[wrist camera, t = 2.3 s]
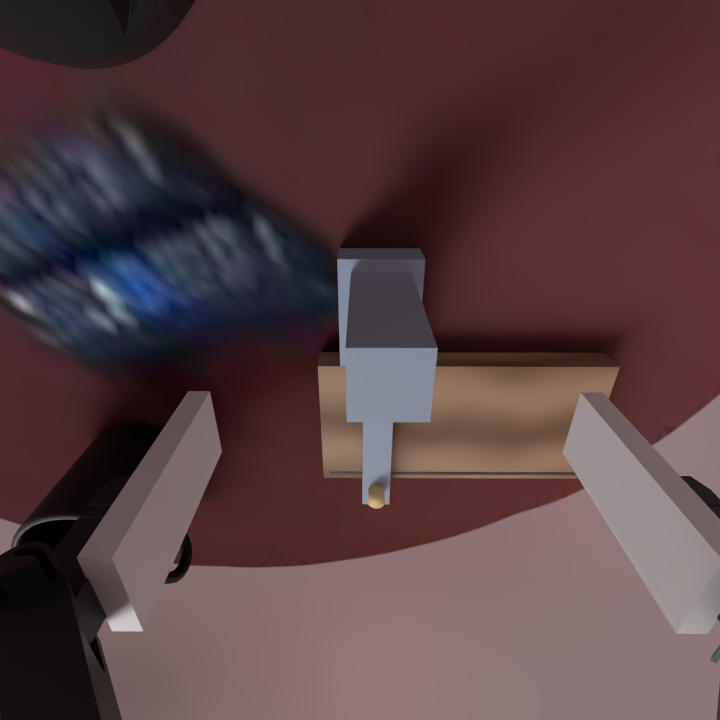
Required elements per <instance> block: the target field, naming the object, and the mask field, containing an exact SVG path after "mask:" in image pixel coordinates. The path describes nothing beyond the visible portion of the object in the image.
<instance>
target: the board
mask: <svg viewBox="0 0 720 720" xmlns="http://www.w3.org/2000/svg"><path fill="white" fill-rule="evenodd" d="M619 368H620V367H619V366H618V365H617V364H616V363H615V362H614V361H613V360H612V359H611V358H610V357H608V356H607V355H606V354H605V353H457V352H437V361H436V371H435V380H434V390H433V400H432V409H431V419H430V422H393V433H392V454H391V474H390V478H578V477H577V475H576V473H575V472H574V470H573V469H572V467H571V465H570V464H569V462H568V461H567V459H566V457H565V456H564V454H563V450H564V446H565V443H566V440H567V436H568V433H569V430H570V426H571V423H572V419H573V416H574V413H575V409H576V406H577V403H578V399H579V396H580V393H581V392H602V393H603V394H604V395H605V396H606V397H607V398H608V399H609V397H610V394H611V391H612V388H613V385H614V382H615V380H616V377H617V374H618V371H619ZM318 378H319V396H320V414H321V433H322V451H323V470H324V478H362V477H363V422H347V414H346V366H340V352H320V357H319V363H318Z"/></svg>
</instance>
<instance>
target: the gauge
mask: <svg viewBox="0 0 720 720" xmlns="http://www.w3.org/2000/svg"><path fill="white" fill-rule="evenodd" d="M337 261H338V301H339V342H340V366H346V414H347V422H363V477H362V504H369V506H370V507H372V508H381V507H383V506H384V504H389V494H390V474H391V454H392V433H393V422H430V419H431V409H432V400H433V390H434V380H435V371H436V361H437V351H438V347H437V344H436V341H435V339H434V336H433V333H432V330H431V327H430V324H429V321H428V318H427V316H426V313H425V310H424V307H423V304H422V298H423V285H424V272H425V257H424V255H423V253H422V251H421V249H420V248H339V253H338V259H337Z"/></svg>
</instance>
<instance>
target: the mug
mask: <svg viewBox="0 0 720 720" xmlns="http://www.w3.org/2000/svg"><path fill="white" fill-rule="evenodd" d="M162 430H163V429H162V428H158V427H154V426H150V425H143V424H128V425H122V426H118V427H114V428H112V429H110V430H107V431H105V432H103V433H102V434H100V435H99V436H98V437H97V438H96V439H95V440H94V441H93V442H92V443H91V444H90V446H89V447H88V448H87V449H86V450H85V451H84V453H83V454H82V455H81V456H80V457H79V458H78V460H77V461H76V462H75V463H74V464H73V466H72V467H71V468H70V469H69V470H68V471H67V473H66V474H65V475H64V476H63V477H62V478H61V480H60V481H59V482H58V483H57V484H56V485H55V487H54V488H53V489H52V490H51V491H50V492H49V494H48V495H47V496H46V497H45V498H44V499H43V501H42V502H41V503H40V504H39V505H38V507H37V508H36V509H35V510H34V511H33V512H32V514H31V515H30V516H29V517H28V518H27V519H26V521H25V522H24V523H23V524H22V525H21V526H20V528H19V529H18V530H17V532H16V534H15V536H14V538H13V541H12V545H11V549H12V548H14V547H17V546H20V545H23V544H26V543H32V542H42V543H45V544H49V546H50V547H51V548H52V550H54V549H55V548H56V546H57V545H58V544H59V542H60V541H61V540H62V538H63V537H64V536H65V534H66V533H67V531H68V530H69V529H70V527H71V526H72V525H73V523H74V522H75V521H76V519H79V515H80V514H81V513H82V511H83V510H84V508H85V507H86V506H88V503H89V502H90V500H91V499H92V498H93V496H94V495H95V494H96V492H97V491H98V490H99V488H100V487H102V486H103V485H104V484H106V483H107V482H108V481H109V480H111V479H112V478H113V477H114V476H116V475H132V474H133V473H134V471H135V470H136V468H137V467H138V465H139V464H140V462H141V461H142V459H143V458H144V456H145V455H146V453H147V452H148V451H149V449H150V448H151V446H152V445H153V443H154V442H155V440H156V439H157V437H158V436H159V434H160V433H161V431H162ZM180 549H181V558H180V562H179V564H178V566H177V568H176V569H175V570H174V571H171V572H169V574H168V576H167V578H166V580H165V583H164V584H169V583H175V582H177V581H179V580H180V579H181V578H183V577H184V575H185V574H186V572H187V571H188V569H189V566H190V563H191V558H192V547H191V542H190V539H189V536H188V534H187V533H186V535H185V537H184V539H183V542H182V544H181V546H180Z"/></svg>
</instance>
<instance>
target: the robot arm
mask: <svg viewBox="0 0 720 720" xmlns="http://www.w3.org/2000/svg"><path fill="white" fill-rule="evenodd" d="M193 1H194V0H0V48H2V49H5V50H7V51H10V52H12V53H15V54H18V55H20V56H24V57H27V58H30V59H34V60H39V61H43V62H48V63H53V64H58V65H62V66H67V67H74V68H85V69H97V68H107V67H113V66H117V65H122V64H125V63H128V62H130V61H133V60H135V59H137V58H139V57H142V56H143V55H145V54H147V53H148V52H150V51H152V50H153V49H154V48H156V47H157V46H158V45H160V44H161V43H162V42H163V41H164V40H165V39H166V38H167V37H168V36H169V35H170V34H171V33H172V32H173V31H174V30H175V29H176V28H177V26H178V25H179V24H180V22H181V21H182V20H183V18H184V17H185V15H186V13H187V12H188V10H189V9H190V7H191V5H192V3H193ZM221 453H222V449H221V444H220V439H219V434H218V429H217V424H216V419H215V414H214V409H213V404H212V399H211V394H210V391H188V392H187V394H186V395H185V397H184V398H183V400H182V401H181V403H180V404H179V406H178V407H177V409H176V410H175V412H174V413H173V415H172V416H171V418H170V419H169V421H168V422H167V424H166V425H165V427H164V428H163V430H162V431H161V433H160V434H159V436H158V437H157V439H156V440H155V442H154V443H153V445H152V446H151V448H150V449H149V451H148V452H147V453H146V455H145V456H144V458H143V459H142V461H141V462H140V464H139V465H138V467H137V468H136V470H135V471H134V473H133V474H132V475H116V476H114V477H113V478H112V479H111V480H109V481H108V482H107V483H106V484H104V485H103V486H102V487H100V488H99V490H98V491H97V492H96V494H95V495H94V496H93V498H92V499H91V500H90V502H89V503H88V506H86V507H85V508H84V510H83V511H82V513H81V514H80V515H79V519H76V521H75V522H74V523H73V525H72V526H71V527H70V529H69V530H68V531H67V533H66V534H65V536H64V537H63V538H62V540H61V541H60V542H59V544H58V545H57V546H56V548H55V549H54V550H52V548H51V547H50V546H49V544H45V543H42V542H32V543H26V544H23V545H20V546H17V547H14V548H12V549H10V550H8V551H7V552H5V553H3V554H1V555H0V720H122V718H121V715H120V711H119V708H118V704H117V700H116V697H115V694H114V689H113V686H112V682H111V679H110V675H109V672H108V668H107V664H106V661H105V657H104V654H103V650H102V646H101V643H100V640H99V638H98V636H97V633H98V631H99V629H100V627H101V625H102V623H103V621H104V620H105V618H106V619H107V622H108V624H109V625H110V628H111V629H112V631H143V630H144V628H145V626H146V624H147V621H148V619H149V617H150V614H151V612H152V610H153V608H154V605H155V603H156V601H157V599H158V596H159V594H160V592H161V589H162V587H163V585H164V583H165V580H166V578H167V576H168V574H169V571H170V569H171V567H172V564H173V562H174V560H175V558H176V555H177V553H178V551H179V548H180V546H181V544H182V542H183V539H184V537H185V535H186V532H187V530H188V528H189V526H190V523H191V521H192V519H193V516H194V514H195V512H196V510H197V507H198V505H199V503H200V501H201V498H202V496H203V494H204V491H205V489H206V487H207V485H208V482H209V480H210V478H211V475H212V473H213V471H214V469H215V466H216V464H217V462H218V459H219V457H220V455H221ZM563 454H564V456H565V457H566V459H567V461H568V462H569V464H570V465H571V467H572V469H573V470H574V472H575V473H576V475H577V477H578V478H579V480H580V481H581V483H582V484H583V486H584V488H585V489H586V491H587V492H588V494H589V496H590V497H591V499H592V500H593V502H594V503H595V505H596V507H597V508H598V510H599V511H600V513H601V515H602V516H603V518H604V519H605V521H606V523H607V524H608V526H609V527H610V529H611V531H612V532H613V534H614V535H615V537H616V539H617V540H618V542H619V543H620V545H621V546H622V548H623V550H624V551H625V553H626V554H627V556H628V558H629V559H630V561H631V562H632V564H633V565H634V567H635V569H636V570H637V572H638V574H639V575H640V577H641V578H642V580H643V581H644V583H645V585H646V586H647V588H648V589H649V591H650V592H651V594H652V595H653V597H654V599H655V601H656V602H657V604H658V605H659V607H660V608H661V610H662V612H663V613H664V615H665V616H666V618H667V620H668V621H669V623H670V624H671V626H672V627H673V629H674V631H675V632H676V634H708V632H709V631H710V629H711V628H712V626H713V625H714V624H715V622H716V621H717V619H719V621H720V499H719V498H718V497H717V496H716V495H715V494H714V493H713V492H712V491H711V490H710V489H709V488H707V487H706V486H704V485H703V484H701V483H700V482H698V481H697V480H695V479H694V478H692V477H690V476H679V475H678V474H677V473H676V471H674V469H673V468H672V467H671V466H670V465H669V464H668V463H667V462H666V461H665V460H664V459H663V457H662V456H661V455H660V454H659V453H658V452H657V451H656V450H655V449H654V448H653V447H652V446H651V444H650V443H649V442H648V441H647V440H646V439H645V438H644V437H643V436H642V435H641V434H640V433H639V432H638V430H637V429H636V428H635V427H634V426H633V425H632V424H631V423H630V422H629V421H628V420H627V419H626V418H625V416H624V415H623V414H622V413H621V412H620V411H619V410H618V409H617V408H616V407H615V406H614V405H613V404H612V402H611V401H610V400H609V399H608V398H607V397H606V396H605V395H604V394H603V393H602V392H581V393H580V396H579V399H578V403H577V406H576V409H575V413H574V416H573V419H572V423H571V426H570V430H569V433H568V436H567V440H566V443H565V446H564V450H563ZM719 659H720V646H719V647H718V648H717V650H716V651H715V653H714V654H713V656H712V658H711V661H713V662H714V663H717V661H718V660H719ZM717 720H720V688H719V699H718V711H717Z"/></svg>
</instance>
